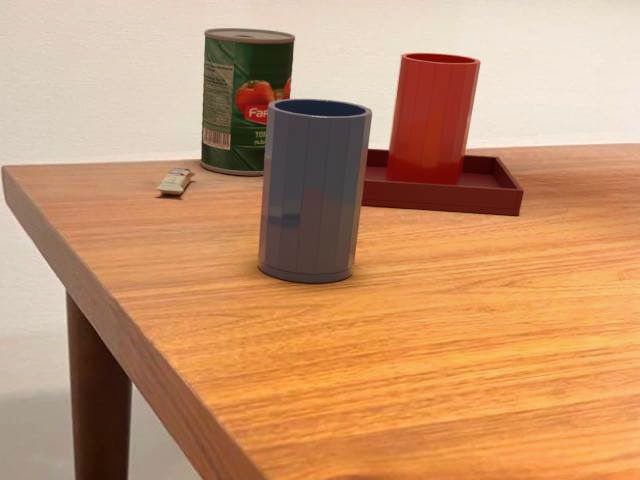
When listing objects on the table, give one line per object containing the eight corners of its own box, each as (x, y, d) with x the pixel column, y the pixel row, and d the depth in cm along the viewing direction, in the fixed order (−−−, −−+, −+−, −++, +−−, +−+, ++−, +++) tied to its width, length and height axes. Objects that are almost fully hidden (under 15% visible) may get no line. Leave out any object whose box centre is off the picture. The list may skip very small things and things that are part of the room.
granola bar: (181, 187, 78) (146, 181, 78) (180, 201, 79) (145, 195, 79) (206, 167, 83) (172, 162, 84) (205, 181, 84) (172, 175, 85)
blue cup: (351, 256, 68) (369, 102, 62) (354, 286, 62) (374, 120, 57) (260, 250, 68) (270, 96, 63) (255, 279, 63) (266, 113, 57)
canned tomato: (218, 153, 94) (224, 25, 88) (296, 163, 92) (307, 33, 86) (186, 169, 88) (190, 32, 82) (268, 180, 85) (278, 41, 79)
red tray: (494, 179, 90) (498, 156, 89) (518, 215, 79) (524, 190, 78) (335, 169, 91) (337, 146, 89) (338, 203, 80) (340, 178, 79)
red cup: (454, 178, 87) (474, 55, 82) (462, 196, 82) (485, 65, 76) (382, 173, 88) (398, 51, 82) (386, 191, 82) (403, 60, 77)
